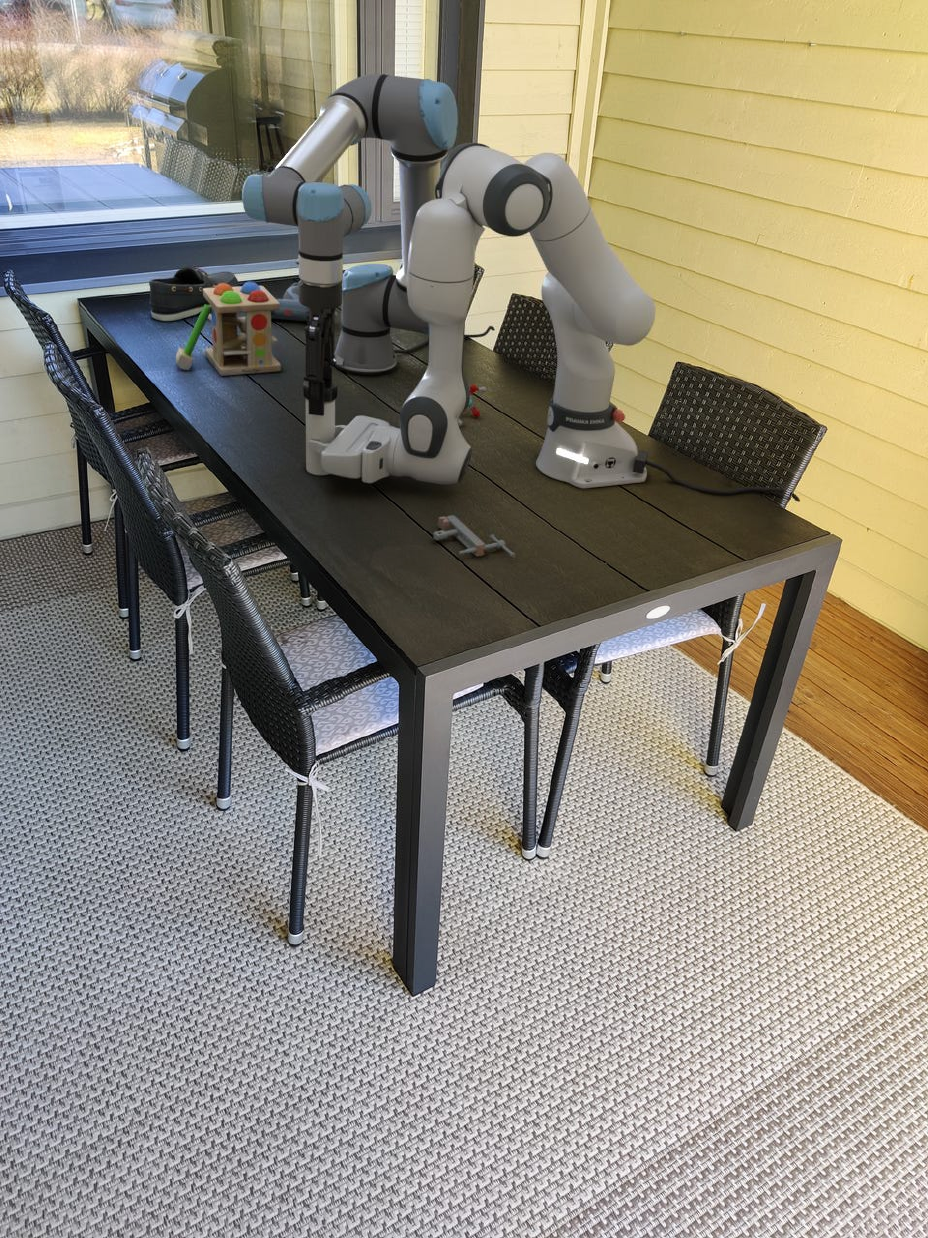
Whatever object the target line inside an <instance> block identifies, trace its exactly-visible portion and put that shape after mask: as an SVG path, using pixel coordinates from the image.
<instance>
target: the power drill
mask: <svg viewBox="0 0 928 1238" xmlns="http://www.w3.org/2000/svg"><path fill="white" fill-rule="evenodd" d="M275 299H276V300H277V301H278V302H279V303H280V310H271V319H274V320H275V319H276V320H283V321H294V322H295V321H297V322H307V317H308V315H309V316H310V312H311V311H310V309H309V308H308V307H306V306H303V305H302V304H301V303H300V302H299V282H293V283H292V284H291V285H290V286H289V287H288V288H287V289H286V291H285V292H284V294H283V297H282V298H275ZM337 317H338V312H337V311H336V309H335V318H337Z"/></svg>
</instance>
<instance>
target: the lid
mask: <svg viewBox="0 0 928 1238" xmlns="http://www.w3.org/2000/svg"><path fill="white" fill-rule="evenodd" d="M323 380H324V402H330V401H333V400H335V401H336V400H337V398H338V383H337V382H336V381H334V380H333V379H332V380H330V379H326V378H323ZM302 389H303V390H302V391H303V392H302V393H303V397H304V399H305V400H306V399H307V400H309V381H304V382H303V388H302Z"/></svg>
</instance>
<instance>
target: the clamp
mask: <svg viewBox="0 0 928 1238" xmlns="http://www.w3.org/2000/svg"><path fill="white" fill-rule="evenodd" d="M437 528H438V529H440V530H437V531H433V539H434V540H436V541H441V540H447V538H449V537H453V536H454V537H455V538H456V539H457V540H458V541H459V542H460V543H461V544H462V545H463V546H465V547H466V549H464V550H459V551H458V554H459V555H464V554H465V555H467V554H468V555H469V554H473V555H474V556H475V557H482V556H484V555H485V552H484V551H486V550H491V549H495V548H496V549H503V550H504V551H505V552H506V553H507V554H509V556H510V558H511V559H513V558H515V557H516V556H517V555H516V552H512V550H510V549H509V548H508V547H506V542H505V540H504V539H499V540H498V538H496V536H495V534H493V533H492V534H490V535H489V540H493V543H488V544H486V543H485V542H484V541H483V540H481V539H480V538H479V537H478V536H477V535H476V534H475V533H474V532H473V531H471V529H470V528H469V527H468V526H467V525H465V524H464V523H463V522H462V521H461V520H460V519H459V518H458V517H457V516H456V515H448V516H445V515H444V516H439V517H438V523H437Z"/></svg>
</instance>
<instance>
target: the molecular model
mask: <svg viewBox="0 0 928 1238" xmlns="http://www.w3.org/2000/svg"><path fill="white" fill-rule="evenodd" d="M469 390H470V400H469V404H468V406H467V408H469V409H470V411H471V412H472V415H473V417H474V418H479V417H480V416H481V412H480V410H478V409H477V408H476V407H475V406H474V402H473V400H472V398H473V395H474V393H475V392H477V391H480V392H482V393H485V392H486V391H487V388H486V387H485V386H481V387H477V385H475V384H471V385H469ZM457 422H458V426H459V427H461V426H463V421H462V420H461V419H460V417H459V418H458V420H457Z"/></svg>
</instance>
